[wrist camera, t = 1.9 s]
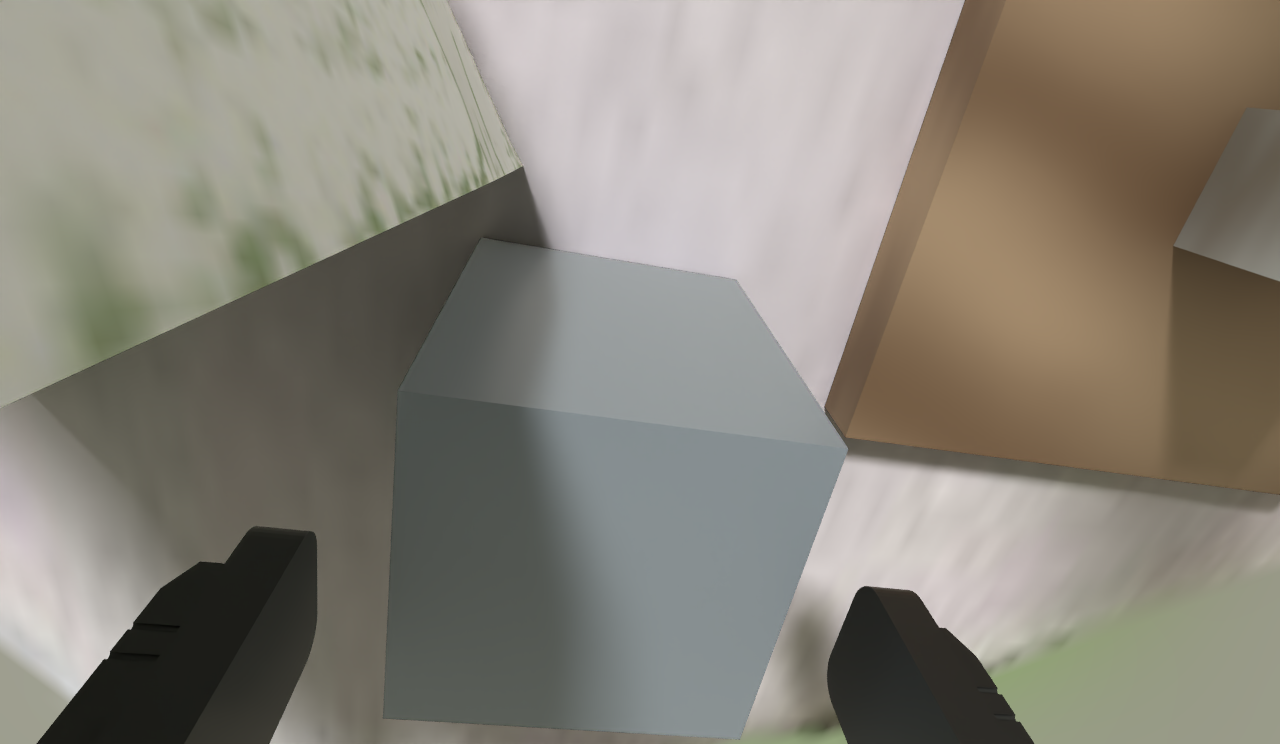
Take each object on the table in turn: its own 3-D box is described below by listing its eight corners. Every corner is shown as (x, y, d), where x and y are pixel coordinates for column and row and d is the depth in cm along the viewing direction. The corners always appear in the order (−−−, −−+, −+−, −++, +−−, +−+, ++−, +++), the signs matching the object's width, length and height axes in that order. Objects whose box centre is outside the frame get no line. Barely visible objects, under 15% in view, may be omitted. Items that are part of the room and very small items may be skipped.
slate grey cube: (481, 237, 15) (397, 390, 8) (736, 279, 16) (848, 448, 9) (460, 460, 17) (383, 718, 10) (682, 486, 18) (739, 739, 11)
